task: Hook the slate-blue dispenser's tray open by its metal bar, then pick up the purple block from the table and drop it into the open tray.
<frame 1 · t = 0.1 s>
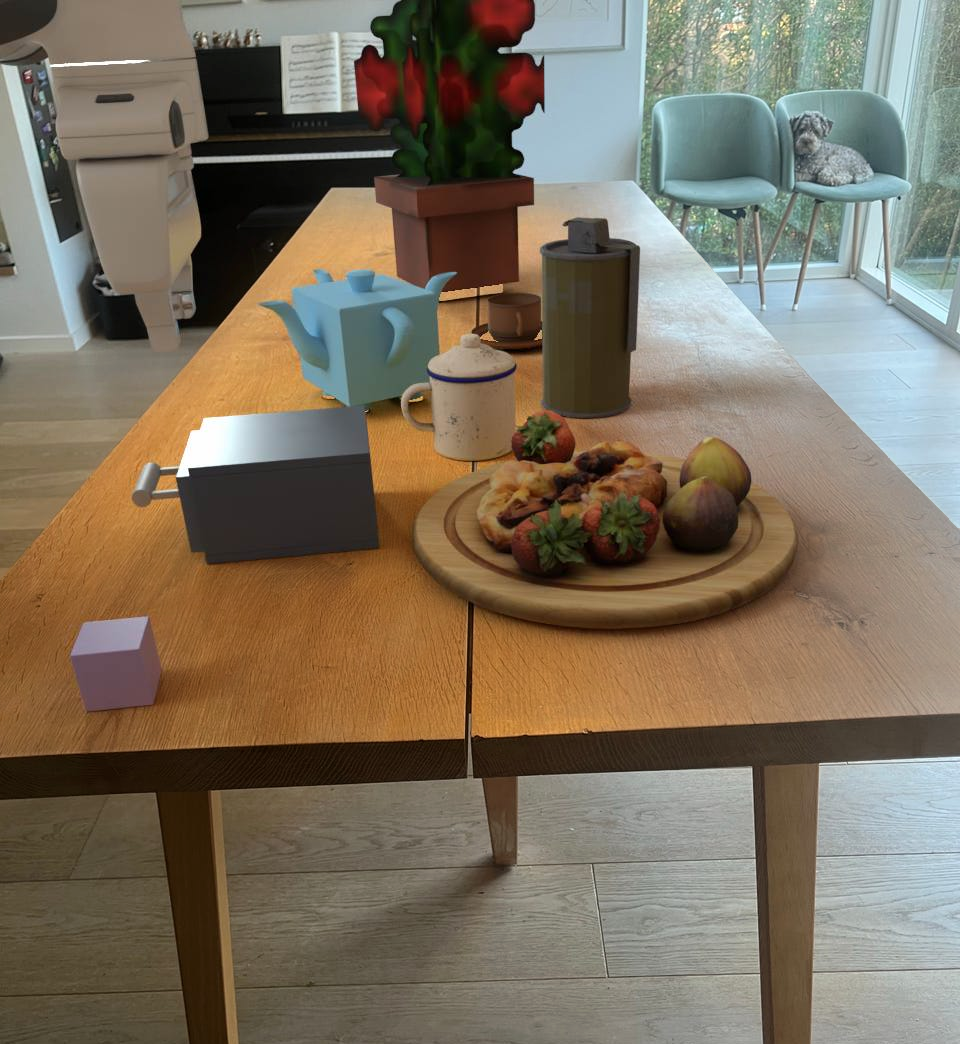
hand: (176, 332, 72), 20 cm above the table, tool pointing down, fingers open, 8 cm apart
wooden plate: (600, 543, 87), on the table
teacup with lid: (461, 450, 107), on the table
potted plant: (457, 292, 172), on the table
dispenser: (295, 525, 92), on the table
teakettle: (368, 397, 124), on the table
purple block: (125, 690, 70), on the table
canister: (587, 406, 118), on the table
tray: (243, 485, 89), point 4 cm above the table, slide at 0.0 cm
cup and saucer: (514, 345, 142), on the table
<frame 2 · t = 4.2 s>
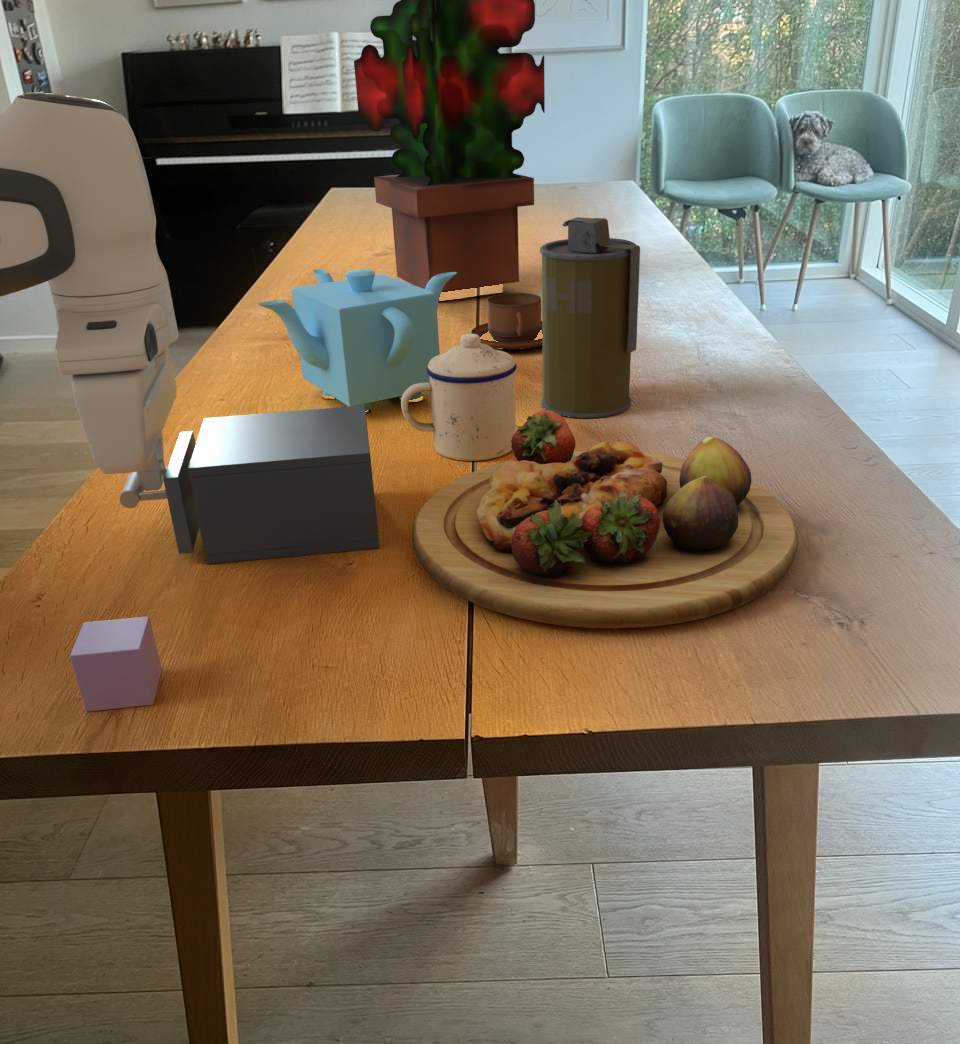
hand: (154, 484, 88), 5 cm above the table, tool pointing down, fingers closed, pressing on tray
tray: (232, 486, 89), point 4 cm above the table, slide at 1.0 cm, touching gripper
everything else where it was.
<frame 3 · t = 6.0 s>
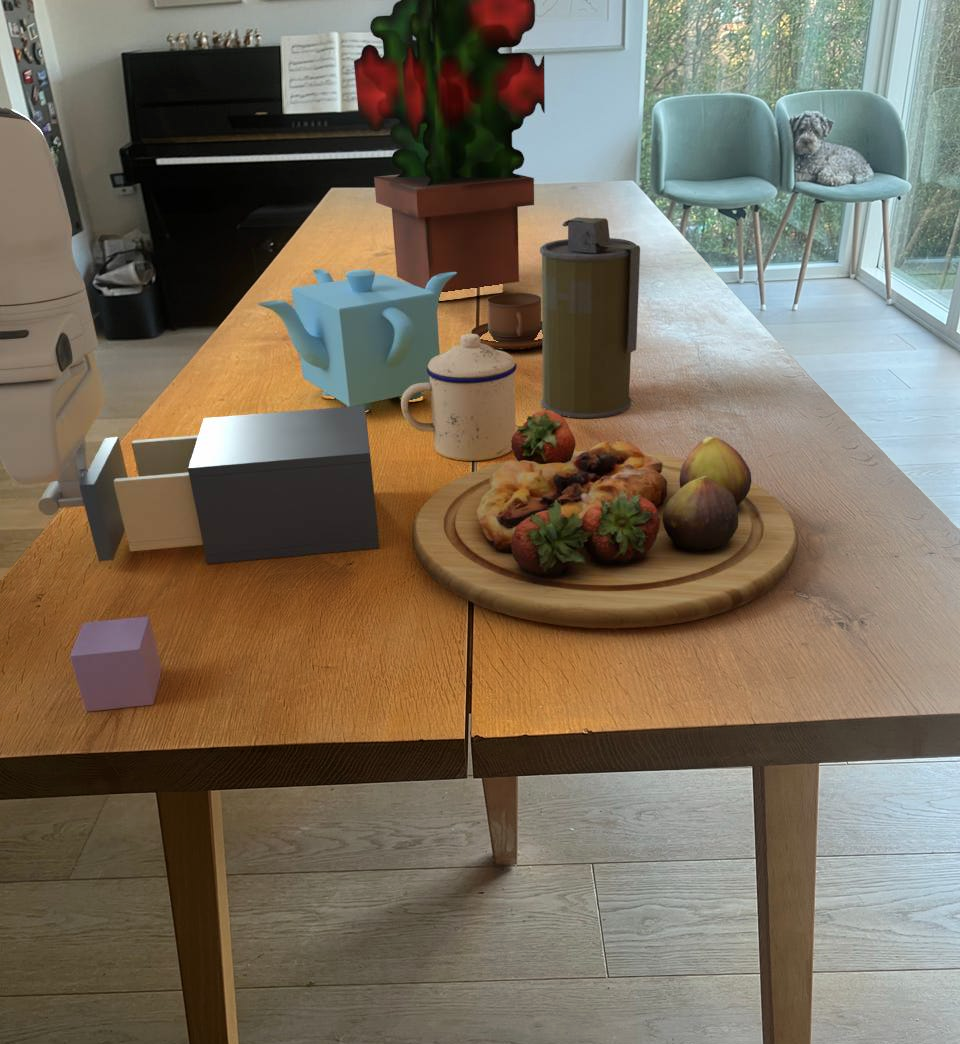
hand: (77, 493, 88), 5 cm above the table, tool pointing down, fingers closed
tray: (155, 492, 89), point 4 cm above the table, slide at 7.6 cm
everything else where it was.
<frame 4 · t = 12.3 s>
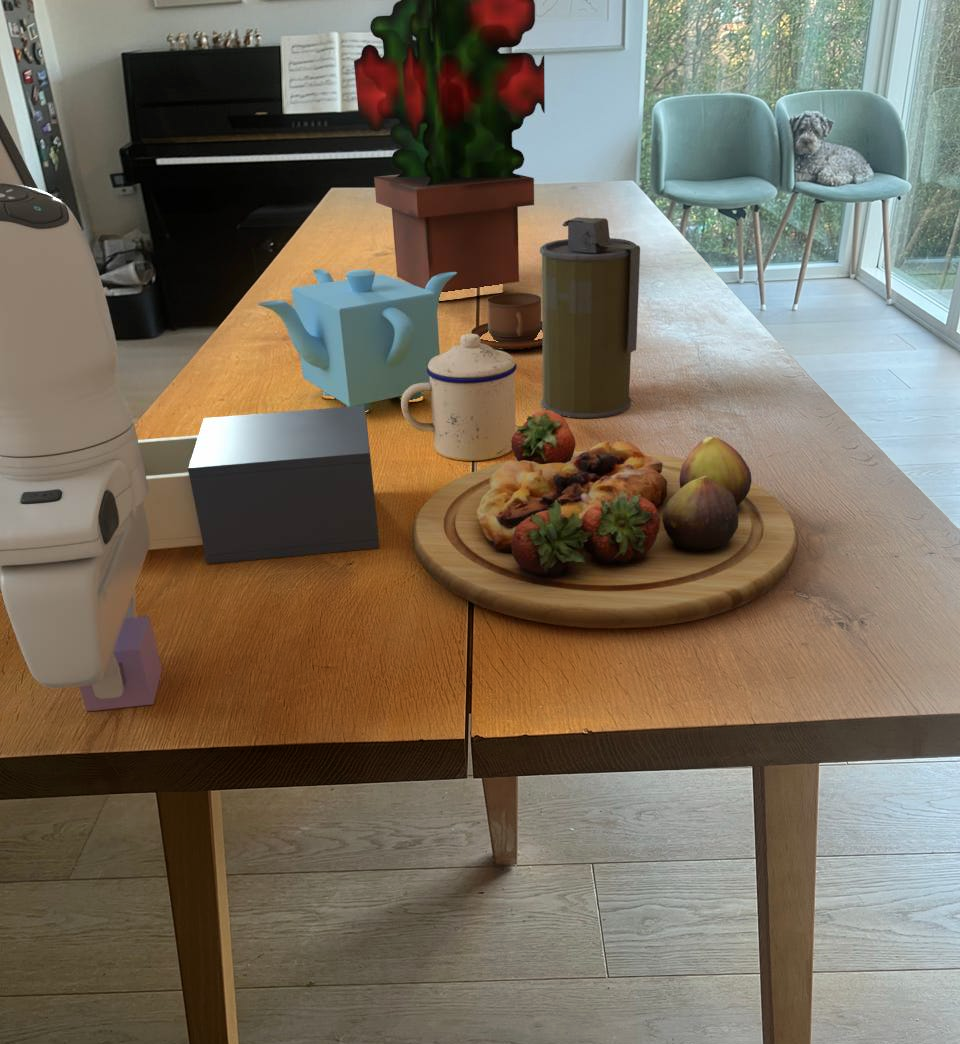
hand: (119, 669, 69), 2 cm above the table, tool pointing down, fingers closed on purple block, 4 cm apart
purple block: (125, 690, 70), on the table, touching gripper
everything else where it was.
when the fingers open (9 cm above the table, at t = 19.3 s): purple block drops 5 cm, resting on tray.
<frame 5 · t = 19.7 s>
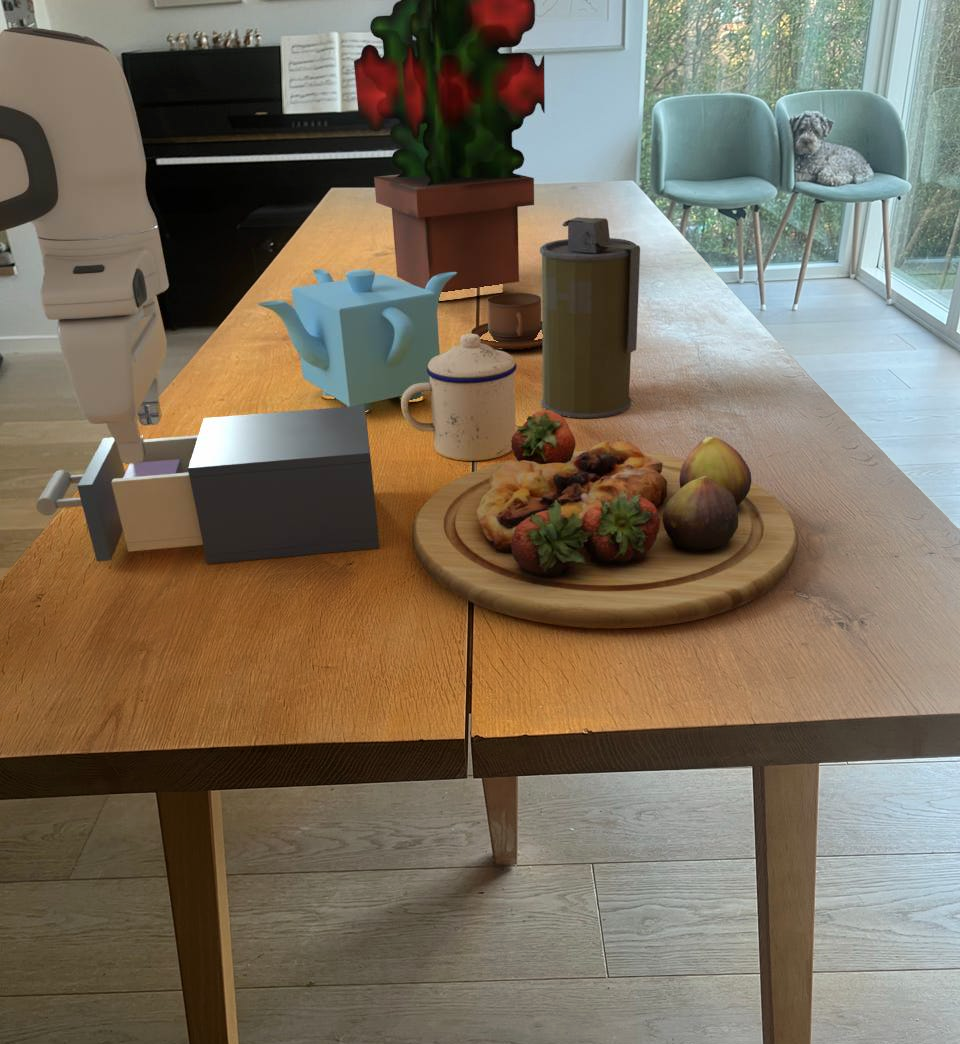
hand: (143, 440, 86), 9 cm above the table, tool pointing down, fingers open, 8 cm apart
purple block: (161, 517, 90), point 2 cm above the table, touching tray
tray: (153, 493, 89), point 4 cm above the table, slide at 7.8 cm, touching purple block
everything else where it was.
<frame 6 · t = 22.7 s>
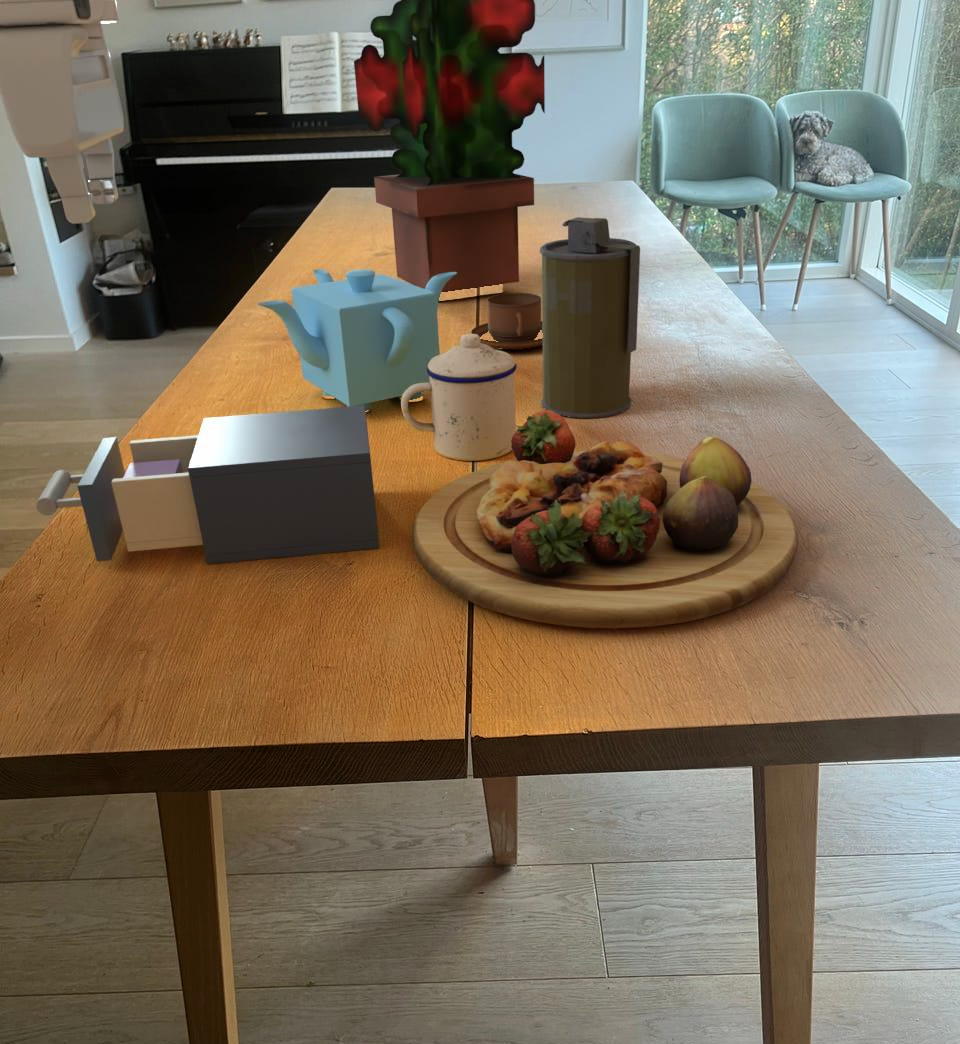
hand: (95, 212, 77), 27 cm above the table, tool pointing down, fingers open, 8 cm apart
nothing on the table moved.
at the end: tray slide at 7.8 cm; purple block inside the target area in the tray (5.5 cm from its centre), point 2.0 cm above the dispenser's base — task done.
